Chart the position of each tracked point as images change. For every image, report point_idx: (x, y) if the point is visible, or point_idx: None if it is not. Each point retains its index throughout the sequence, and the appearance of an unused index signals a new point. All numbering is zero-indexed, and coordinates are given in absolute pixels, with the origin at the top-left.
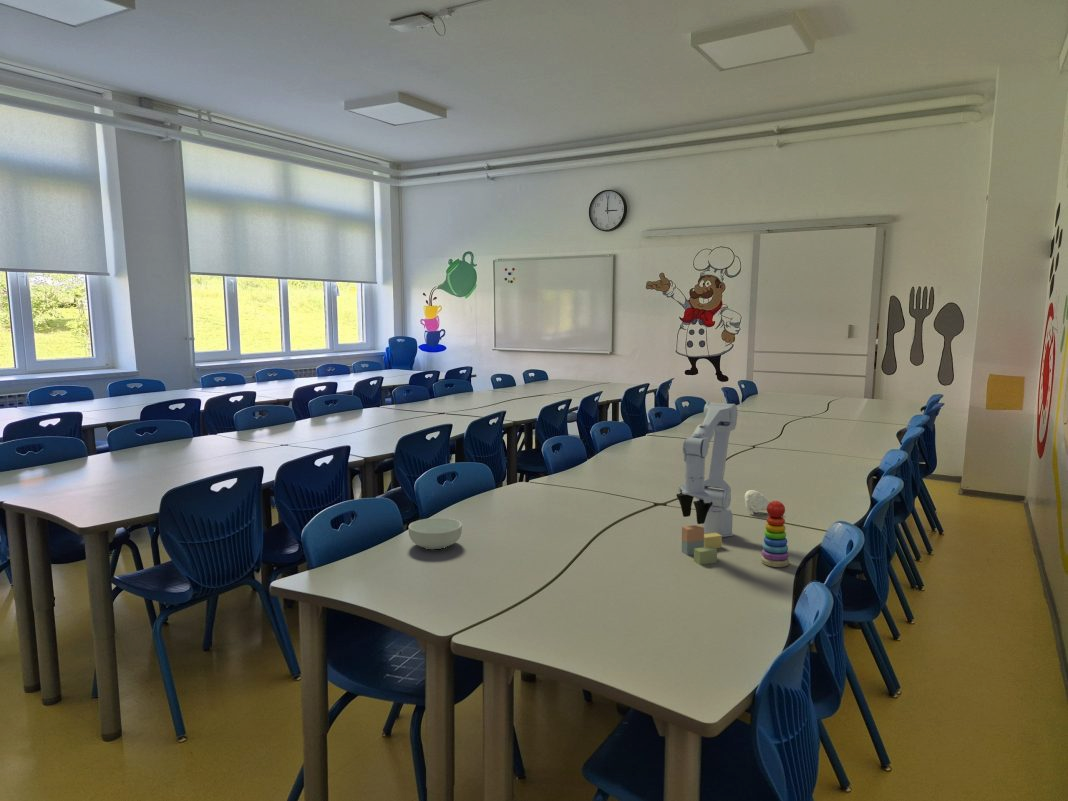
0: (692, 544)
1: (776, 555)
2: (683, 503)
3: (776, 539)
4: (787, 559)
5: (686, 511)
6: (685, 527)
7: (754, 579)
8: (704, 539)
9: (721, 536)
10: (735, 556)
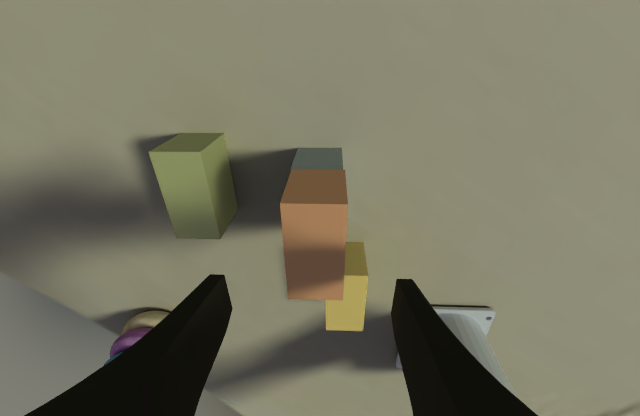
0: None
1: (110, 351)
2: (436, 388)
3: None
4: None
5: (404, 327)
6: (329, 218)
7: (33, 225)
8: None
9: (326, 325)
10: (239, 284)
